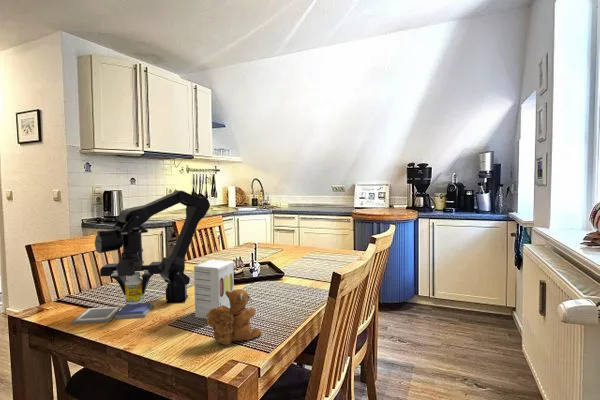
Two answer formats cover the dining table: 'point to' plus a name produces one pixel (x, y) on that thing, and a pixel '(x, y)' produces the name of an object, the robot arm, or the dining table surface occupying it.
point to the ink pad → (134, 310)
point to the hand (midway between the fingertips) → (134, 294)
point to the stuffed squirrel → (233, 319)
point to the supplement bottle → (134, 289)
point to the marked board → (97, 315)
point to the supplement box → (212, 285)
